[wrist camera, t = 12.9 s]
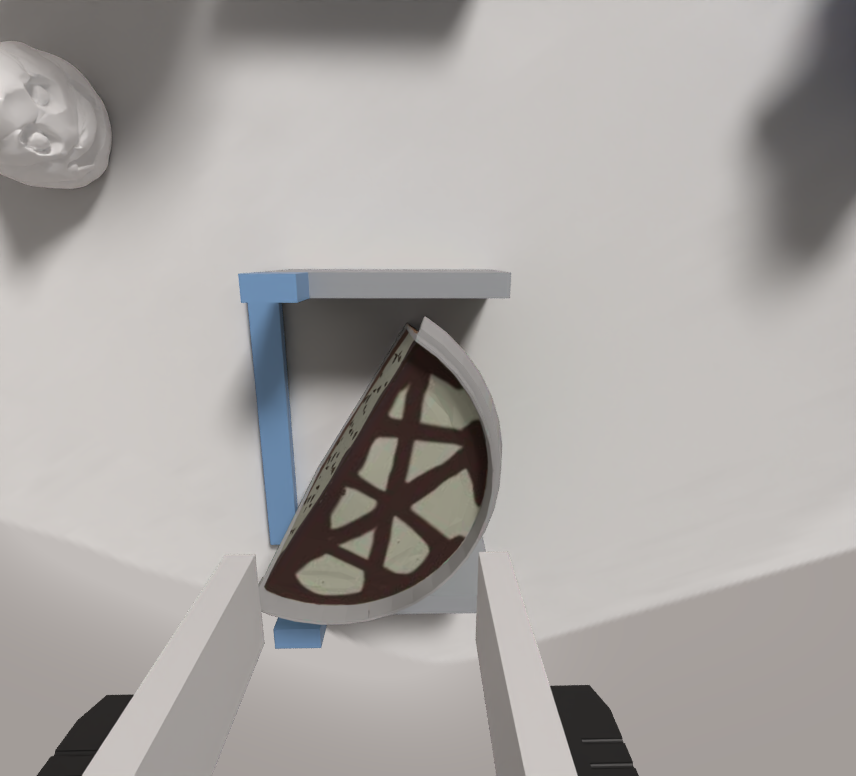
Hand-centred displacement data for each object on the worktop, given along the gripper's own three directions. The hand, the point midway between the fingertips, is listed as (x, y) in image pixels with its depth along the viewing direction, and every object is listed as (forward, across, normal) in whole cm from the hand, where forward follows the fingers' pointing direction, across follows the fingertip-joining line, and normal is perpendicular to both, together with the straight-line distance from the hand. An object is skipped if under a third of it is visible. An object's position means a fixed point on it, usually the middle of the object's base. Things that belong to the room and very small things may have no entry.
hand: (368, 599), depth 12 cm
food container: (+14, -1, 0) cm, 14 cm away
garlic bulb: (+14, +15, -14) cm, 25 cm away
